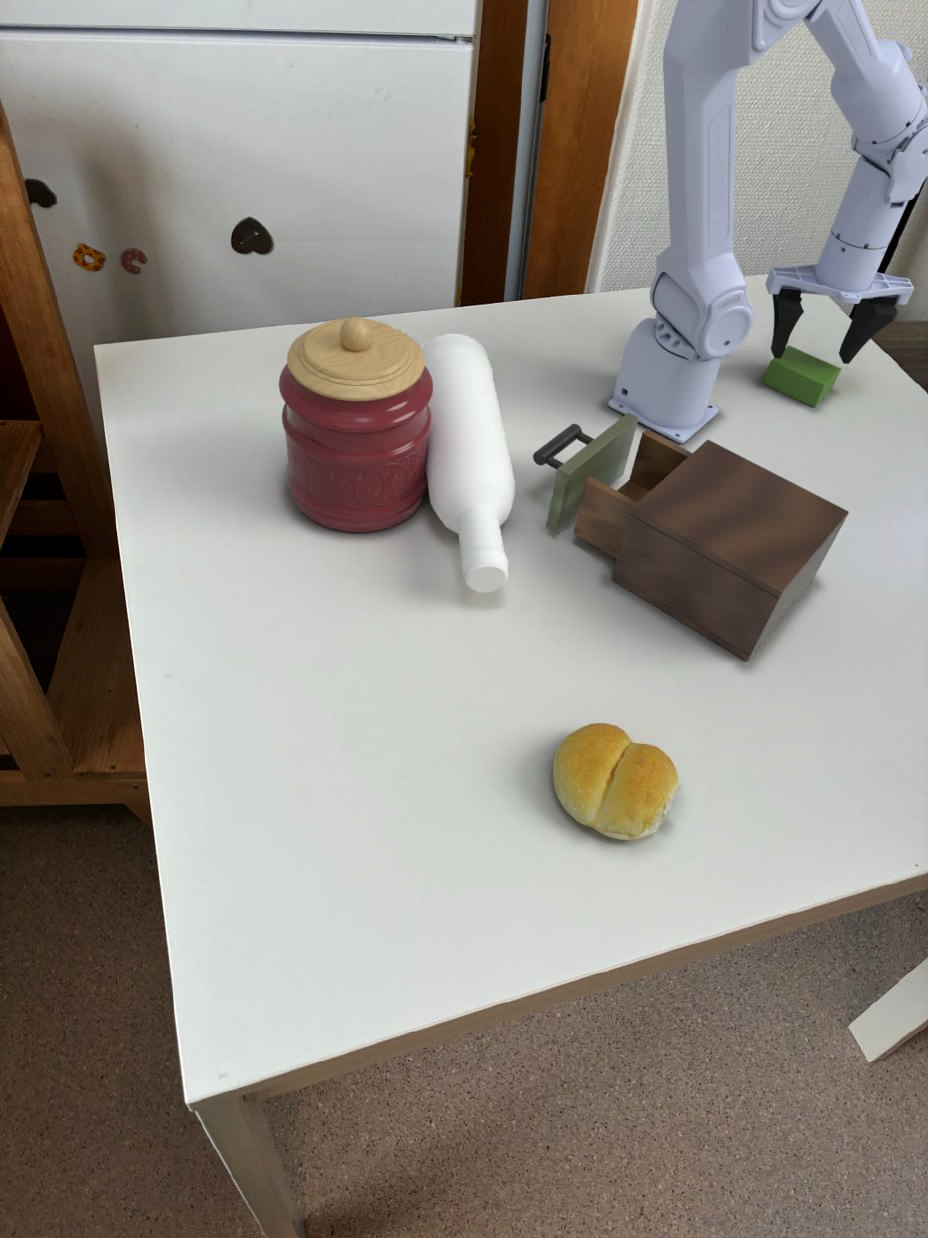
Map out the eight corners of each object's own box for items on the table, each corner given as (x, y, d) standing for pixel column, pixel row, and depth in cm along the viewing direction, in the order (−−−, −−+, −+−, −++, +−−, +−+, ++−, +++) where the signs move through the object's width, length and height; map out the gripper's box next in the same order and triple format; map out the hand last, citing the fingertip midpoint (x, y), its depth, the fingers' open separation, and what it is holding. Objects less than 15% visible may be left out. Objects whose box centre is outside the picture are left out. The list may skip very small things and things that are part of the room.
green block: (761, 383, 102) (770, 360, 100) (779, 367, 104) (788, 344, 102) (814, 408, 100) (824, 385, 97) (831, 391, 102) (841, 368, 100)
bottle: (501, 379, 94) (548, 591, 75) (433, 409, 96) (463, 623, 77) (470, 318, 89) (513, 531, 69) (399, 351, 91) (422, 567, 71)
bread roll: (580, 721, 69) (590, 690, 66) (686, 780, 67) (701, 750, 64) (526, 798, 65) (534, 768, 62) (638, 865, 62) (652, 837, 59)
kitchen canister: (318, 552, 79) (307, 380, 66) (269, 463, 86) (250, 293, 73) (450, 514, 84) (465, 346, 70) (393, 433, 91) (397, 267, 78)
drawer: (509, 504, 84) (518, 446, 79) (578, 449, 90) (591, 392, 85) (661, 596, 78) (682, 539, 72) (725, 530, 84) (748, 473, 79)
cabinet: (611, 579, 80) (632, 507, 73) (682, 510, 87) (707, 438, 80) (747, 662, 75) (782, 592, 68) (811, 582, 81) (849, 511, 75)
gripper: (796, 248, 86) (751, 371, 96) (945, 261, 86) (884, 382, 97) (781, 214, 90) (739, 335, 101) (922, 226, 91) (866, 345, 101)
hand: (809, 355), depth 99 cm, fingers open, 7 cm apart
